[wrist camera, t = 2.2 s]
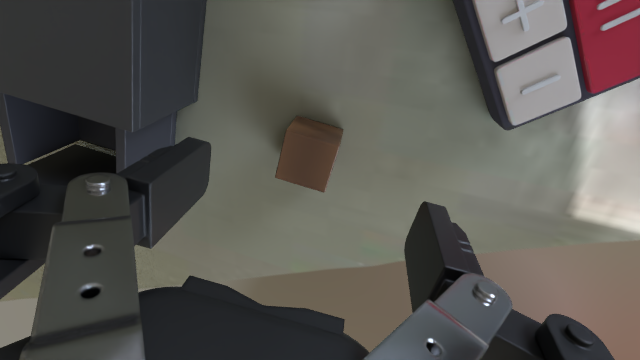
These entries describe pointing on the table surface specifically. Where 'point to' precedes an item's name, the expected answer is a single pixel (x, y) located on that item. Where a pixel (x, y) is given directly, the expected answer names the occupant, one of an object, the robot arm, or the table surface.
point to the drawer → (74, 140)
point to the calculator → (549, 52)
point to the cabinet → (103, 56)
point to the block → (309, 153)
